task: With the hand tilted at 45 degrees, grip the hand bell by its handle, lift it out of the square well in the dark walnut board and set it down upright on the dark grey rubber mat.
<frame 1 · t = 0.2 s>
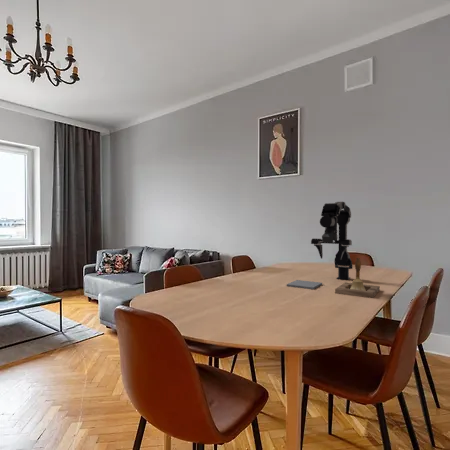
hand: (330, 259, 156), 14 cm above the table, tool pointing down, fingers open, 9 cm apart
grey rubber mat: (304, 285, 162), on the table
walnut well board: (357, 291, 147), on the table
hand bell: (357, 292, 147), resting in walnut well board
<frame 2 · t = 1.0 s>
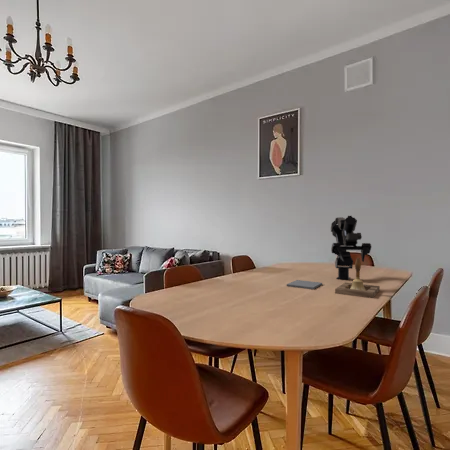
hand: (353, 261, 155), 13 cm above the table, tool tilted 45°, fingers open, 9 cm apart
nothing on the table moved.
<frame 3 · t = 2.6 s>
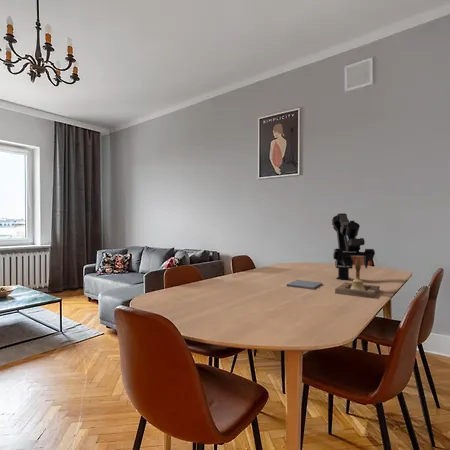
hand: (356, 267, 150), 11 cm above the table, tool tilted 45°, fingers open, 9 cm apart
nothing on the table moved.
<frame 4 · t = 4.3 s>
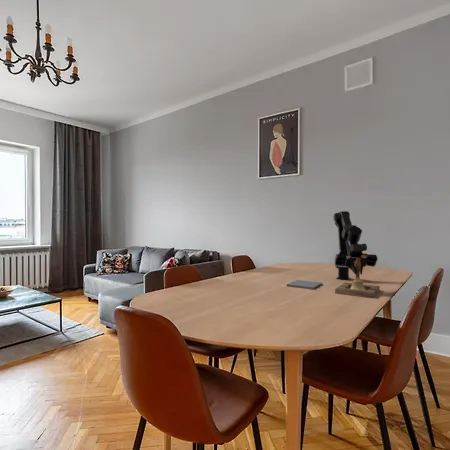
hand: (358, 274, 146), 9 cm above the table, tool tilted 45°, fingers closed on hand bell
hand bell: (357, 292, 147), resting in walnut well board, touching gripper
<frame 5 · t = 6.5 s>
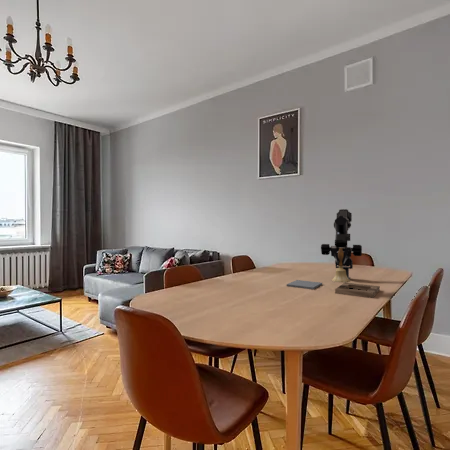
hand: (340, 263, 148), 13 cm above the table, tool tilted 45°, fingers closed on hand bell
hand bell: (340, 281, 150), point 4 cm above the table, touching gripper
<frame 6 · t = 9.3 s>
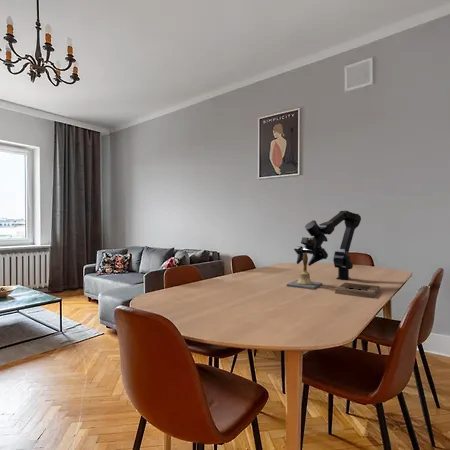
hand: (302, 264, 161), 11 cm above the table, tool tilted 45°, fingers open, 7 cm apart
hand bell: (304, 283, 162), point 1 cm above the table, touching grey rubber mat
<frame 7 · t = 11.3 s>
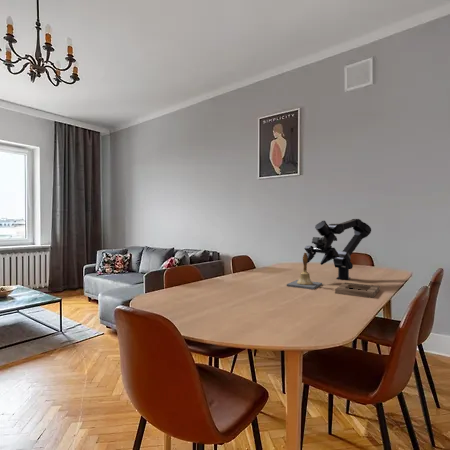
hand: (313, 263, 166), 11 cm above the table, tool tilted 45°, fingers open, 9 cm apart
nothing on the table moved.
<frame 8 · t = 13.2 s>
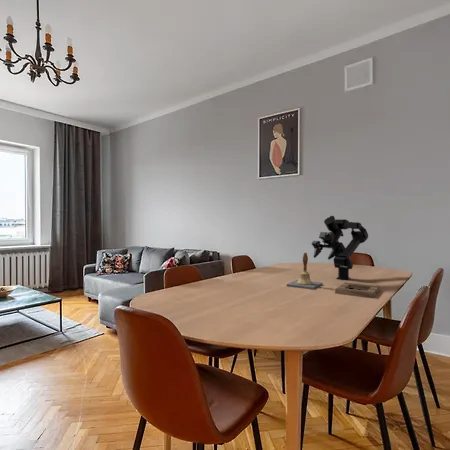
hand: (321, 258, 167), 14 cm above the table, tool tilted 45°, fingers open, 9 cm apart
nothing on the table moved.
at the end: hand bell inside the target area on the grey rubber mat (0.1 cm from its centre), point 0.8 cm above the grey rubber mat's base; hand bell tilted 0°; the gripper is holding nothing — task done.
